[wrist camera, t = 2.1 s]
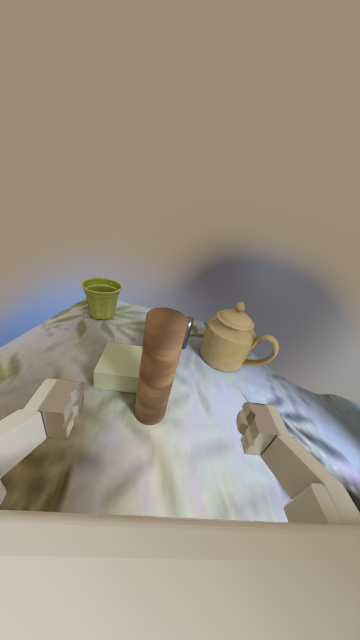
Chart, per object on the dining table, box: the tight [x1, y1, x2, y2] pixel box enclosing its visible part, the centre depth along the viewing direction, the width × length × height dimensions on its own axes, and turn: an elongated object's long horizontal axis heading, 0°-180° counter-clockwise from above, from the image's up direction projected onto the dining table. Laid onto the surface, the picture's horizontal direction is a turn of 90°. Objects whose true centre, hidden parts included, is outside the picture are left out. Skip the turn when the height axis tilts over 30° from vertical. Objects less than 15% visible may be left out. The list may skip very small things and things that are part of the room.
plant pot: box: [81, 278, 122, 320], centre depth 52 cm, size 9×9×9 cm
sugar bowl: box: [200, 302, 279, 372], centre depth 44 cm, size 15×11×15 cm
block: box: [93, 342, 142, 393], centre depth 37 cm, size 8×8×4 cm
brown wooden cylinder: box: [134, 308, 188, 425], centre depth 28 cm, size 5×5×18 cm
